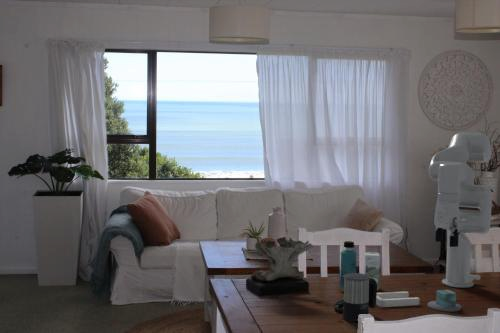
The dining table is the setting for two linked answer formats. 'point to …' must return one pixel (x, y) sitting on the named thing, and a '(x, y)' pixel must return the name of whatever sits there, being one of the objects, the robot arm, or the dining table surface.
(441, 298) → the teal block
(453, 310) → the pad
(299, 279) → the coral
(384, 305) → the white tray
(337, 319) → the dining table surface
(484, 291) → the dining table surface
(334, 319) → the dining table surface
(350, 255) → the beverage bottle
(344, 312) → the milk frother
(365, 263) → the syrup box
